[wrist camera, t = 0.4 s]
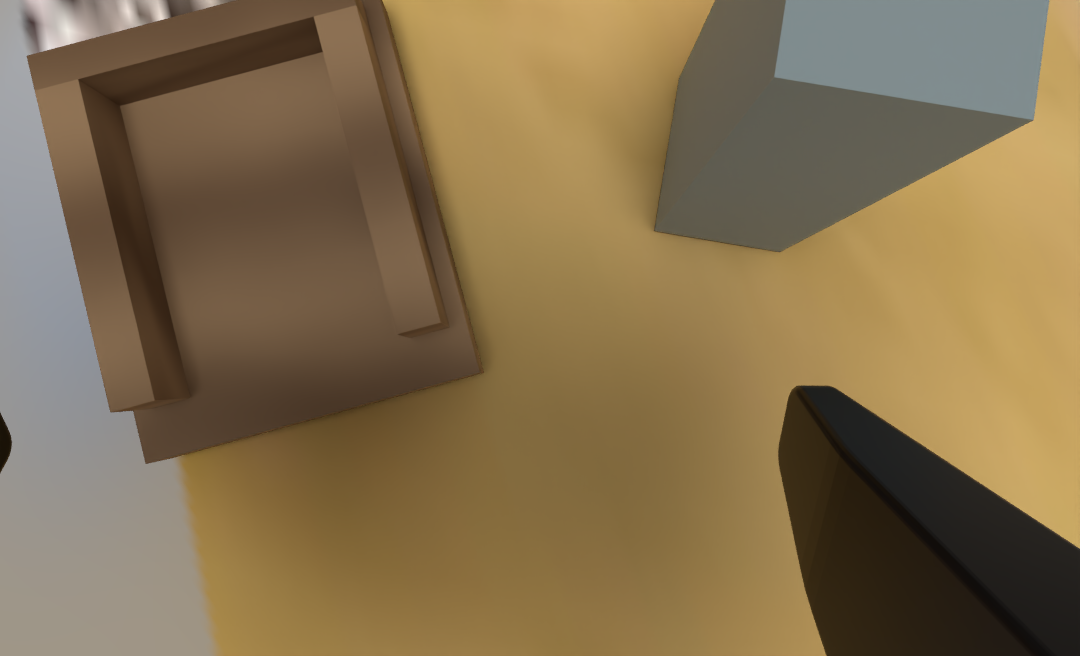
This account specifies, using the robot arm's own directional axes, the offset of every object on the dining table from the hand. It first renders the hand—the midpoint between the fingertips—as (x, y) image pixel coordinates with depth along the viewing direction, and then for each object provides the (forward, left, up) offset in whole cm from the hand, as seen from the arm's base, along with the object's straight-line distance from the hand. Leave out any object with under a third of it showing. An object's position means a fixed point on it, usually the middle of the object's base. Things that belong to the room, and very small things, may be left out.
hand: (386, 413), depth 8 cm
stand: (+8, +3, -15) cm, 17 cm away
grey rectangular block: (+2, -10, -15) cm, 18 cm away
